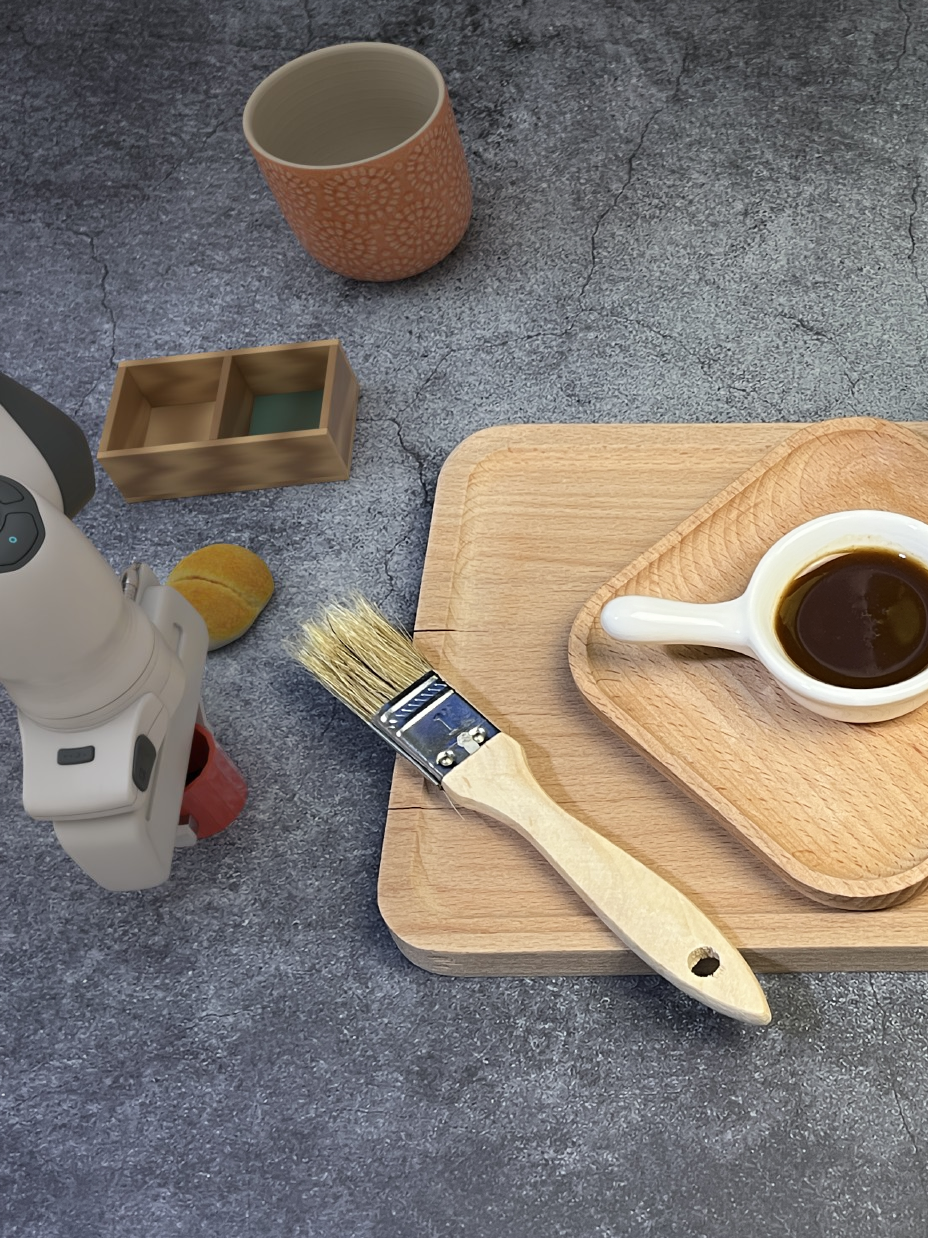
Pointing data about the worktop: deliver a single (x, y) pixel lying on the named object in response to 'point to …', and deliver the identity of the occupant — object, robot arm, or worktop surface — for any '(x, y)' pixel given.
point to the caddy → (230, 421)
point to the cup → (212, 785)
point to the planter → (363, 158)
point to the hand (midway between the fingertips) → (194, 789)
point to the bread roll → (224, 589)
